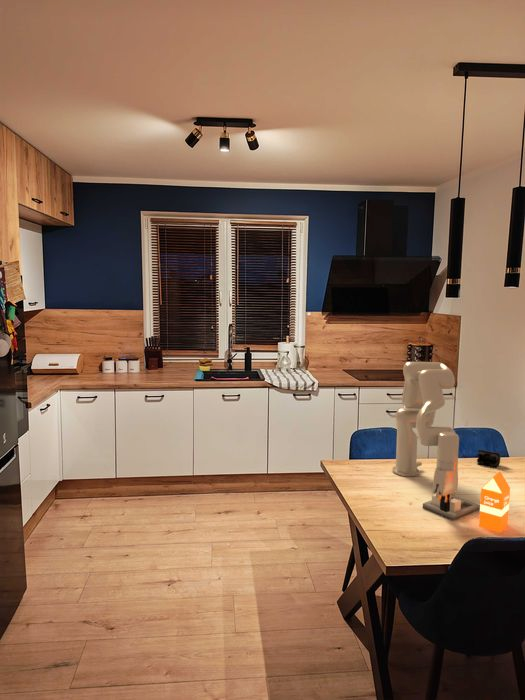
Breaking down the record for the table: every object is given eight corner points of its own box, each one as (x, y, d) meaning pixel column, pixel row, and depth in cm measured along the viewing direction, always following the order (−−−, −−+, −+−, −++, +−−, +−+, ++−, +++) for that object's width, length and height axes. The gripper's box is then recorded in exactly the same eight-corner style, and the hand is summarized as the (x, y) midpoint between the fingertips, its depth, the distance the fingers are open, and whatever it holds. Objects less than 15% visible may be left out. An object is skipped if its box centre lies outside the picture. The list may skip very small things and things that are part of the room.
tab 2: (453, 508, 202) (454, 498, 201) (460, 511, 199) (461, 500, 199) (447, 511, 200) (448, 500, 199) (454, 513, 197) (454, 503, 197)
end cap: (500, 465, 258) (501, 452, 258) (497, 468, 253) (497, 455, 252) (479, 461, 264) (480, 448, 263) (475, 464, 259) (476, 451, 258)
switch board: (449, 498, 215) (449, 493, 215) (480, 509, 204) (480, 504, 204) (422, 508, 205) (422, 503, 205) (453, 520, 194) (453, 515, 193)
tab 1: (437, 503, 207) (438, 492, 207) (444, 505, 205) (444, 495, 204) (431, 505, 205) (432, 495, 204) (437, 507, 202) (438, 497, 202)
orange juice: (508, 524, 191) (511, 473, 189) (500, 532, 184) (504, 479, 182) (486, 518, 196) (489, 468, 194) (478, 526, 189) (481, 474, 187)
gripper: (450, 458, 201) (447, 503, 203) (426, 465, 192) (424, 512, 194) (467, 463, 195) (464, 509, 197) (443, 471, 186) (441, 519, 188)
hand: (444, 510), depth 196 cm, fingers closed
